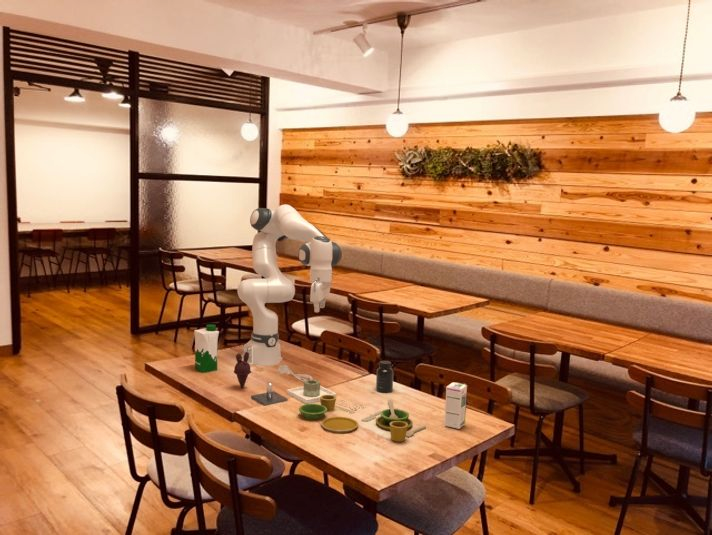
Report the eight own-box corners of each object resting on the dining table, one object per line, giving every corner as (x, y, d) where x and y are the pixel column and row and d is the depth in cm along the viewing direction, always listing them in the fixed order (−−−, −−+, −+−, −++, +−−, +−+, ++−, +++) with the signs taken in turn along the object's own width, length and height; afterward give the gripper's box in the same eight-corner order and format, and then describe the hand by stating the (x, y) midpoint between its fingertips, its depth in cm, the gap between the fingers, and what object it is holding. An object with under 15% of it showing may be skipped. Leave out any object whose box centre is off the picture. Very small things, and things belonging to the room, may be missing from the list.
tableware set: (431, 428, 209) (432, 411, 208) (384, 454, 188) (386, 434, 187) (340, 399, 234) (340, 384, 234) (290, 418, 213) (290, 401, 212)
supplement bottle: (380, 386, 250) (382, 358, 249) (395, 390, 247) (396, 361, 245) (372, 391, 244) (374, 362, 243) (387, 394, 241) (389, 365, 239)
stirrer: (315, 384, 251) (316, 373, 250) (309, 386, 248) (310, 375, 247) (282, 373, 263) (282, 363, 263) (276, 375, 260) (276, 364, 260)
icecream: (239, 393, 234) (240, 356, 233) (229, 388, 240) (230, 351, 238) (254, 389, 239) (255, 353, 237) (244, 385, 245) (244, 349, 243)
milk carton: (220, 372, 260) (221, 326, 258) (201, 375, 254) (201, 329, 252) (210, 367, 267) (210, 322, 264) (191, 370, 261) (192, 325, 258)
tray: (286, 394, 236) (286, 389, 236) (315, 388, 245) (316, 383, 245) (306, 404, 225) (306, 400, 225) (336, 398, 234) (336, 393, 234)
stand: (251, 398, 230) (251, 381, 229) (273, 393, 236) (274, 377, 235) (264, 406, 222) (264, 389, 221) (287, 401, 228) (288, 384, 228)
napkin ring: (300, 395, 234) (301, 382, 233) (309, 390, 239) (309, 378, 239) (314, 398, 231) (314, 385, 231) (322, 393, 237) (322, 381, 236)
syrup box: (459, 429, 208) (462, 388, 206) (443, 425, 211) (446, 385, 209) (465, 424, 213) (467, 384, 211) (449, 420, 216) (452, 381, 214)
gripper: (322, 280, 235) (321, 315, 237) (333, 273, 255) (332, 306, 257) (306, 279, 236) (305, 314, 238) (319, 273, 256) (317, 304, 258)
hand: (319, 309), depth 247 cm, fingers open, 8 cm apart
